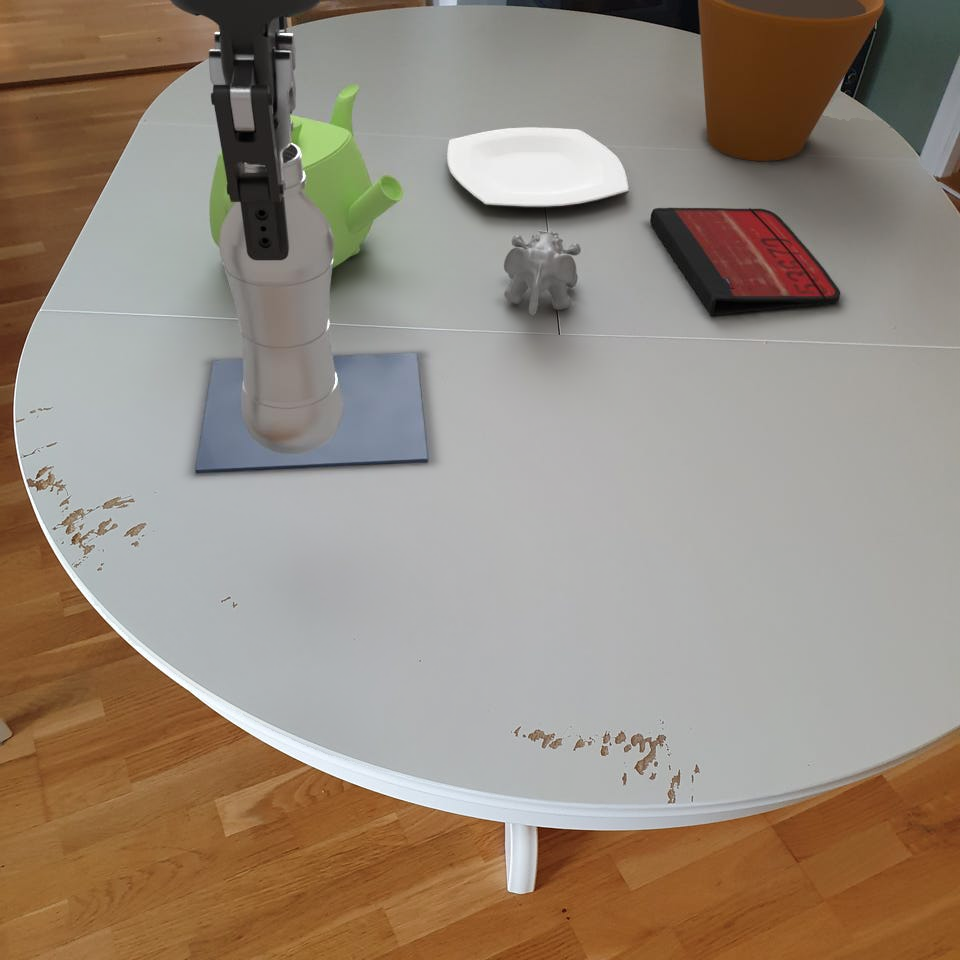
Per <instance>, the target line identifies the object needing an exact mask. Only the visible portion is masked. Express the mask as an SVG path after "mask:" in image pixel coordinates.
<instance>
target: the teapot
mask: <svg viewBox="0 0 960 960" xmlns="http://www.w3.org/2000/svg"><path fill="white" fill-rule="evenodd" d="M359 91H360V86H359V84H357V83H352V84H349V85H347V86H346V87H344V89H342V90H341V91H340V92H339V94H338V96H337V97H336V100H335V103H334V106H333V109H332V113H331V118H330V122H329V123H327V122H324V121H320V120H319V121H318V120H315V119H311V118H306V117H301V116H297V115H293V114H290V117H291V122H293V126H294V131H292V136H291V137H292V141H291V143H293V144H295V145H296V146H298V147H299V149H300V152H301V155H302V165H303V171H304V172H305V176H306V185H305V187H304V189H302V191H303V192H304V193H305V194H306V195H307V196H308V197H309V198H310V200H311V201H312V202H313V203H314V204H315V205H316V206H317V207H318V209H319V210H320V211H321V213H322V214H323V215H324V216H325V218H326V219H327V220H328V223H329V225H330V228H331V231H332V233H333V236H334V257H333V265H332V269H334V268H336V267H337V266H338V265H340V264H342V263H343V262H345V261H346V260H347V259H349V258H350V257H353V256H356V255H358V254H359V253H360V251H361V248H360V246H361V245H362V244H363V242H364V241H365V239H366V237H367V236H368V234H369V232H370V230H371V228H372V225H373V223H374V221H375V220H376V219H378V218H379V217H381V215H383V214H384V213H385V212H386V211H388V210H389V209H390V208H392V207H394V205H396V204H397V203H399V201H400V200H401V199H402V198H403V197H404V189H403V187H402V185H401V183H400V181H398V180H397V179H396V177H394V176H392V175H390V174H383V175H382V176H381V177H379V179H378V180H376V181H375V182H374V183H373V184H372V179H371V176H370V173H369V170H368V168H367V165H366V162H365V160H364V158H363V155H362V153H361V151H360V149H359V146H358V144H357V142H356V139H355V137H354V129H353V107H354V103H355V100H356V97H357V95H358V92H359ZM213 173H214V174H213V179H212V182H211V188H210V196H209V227H210V233H211V238H212V240H213V242H214V243H215V245H216V246H217V248H219V244H218V242H219V237H220V231H221V227H222V224H223V222H224V220H225V218H226V216H227V214H228V212H229V210H230V208H231V207H232V205H233V204H234V202H231V200H230V196H229V195H228V194H227V178H226V172H225V166H224V161H223V155H222V149H221V148H220V150H219V153H218V157H217V160H216V164H215V169H214V172H213Z"/></svg>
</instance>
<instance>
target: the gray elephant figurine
mask: <svg viewBox="0 0 960 960" xmlns="http://www.w3.org/2000/svg"><path fill="white" fill-rule="evenodd" d="M511 245H512V247H513V248H511V249H510V250H509V251H508V253H506V256H505V259H504V262H503V269H504V272H505V273H507V274H508V277H509V279H510V280H512V281H511V284H510V286H509V287H507V288H506V289H505V290H504V292H503V296H504V297H505V299H506V300H507V301H509V302H510V303H511V304H517V305H518V304H520V303H521V302H522V301H523V297H524V294H525V292H526V291H527V290H528V289H529V290H530V291H531V292H530V298H529V303H528V304H529V305H528V312H529V314H530V315H535V314H536V313H537V310H538V306H539V297H540V293H544V292H546V291H547V290H548V292H549V294H550V296H551V299H552V300H551V306H552V309H554V310H556V311H563V310H566V309H569V308H570V307H571V305H572V298H571V297H570V296H569V294H568V290H567V288H568V289H573V288H575V286H576V285H577V283H578V277H579V276H578V273H577V264H576V261H575V259H574V258H573V257H572V256H579V254H581V250H582V249H581V247H580V244H579V243H578V242H573V243H572V244H571V245H570V246H569V247H568V248H567V249H565V248H564V246H563V239H562V238H560V236H559V233H558V232H553V231H547V230H542V229H540V230H538V232H537V233H536V234H532V236H531V239H530V241H529V242H528V243H526V242H525V241H524V239H523V237H522V236H521V234H515V235H514V236H513V237H512V239H511Z"/></svg>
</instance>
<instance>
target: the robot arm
mask: <svg viewBox="0 0 960 960" xmlns="http://www.w3.org/2000/svg"><path fill="white" fill-rule="evenodd" d="M169 1H170V2H171V3H172V4H173V5H174V6H175V7H176V8H178V9H179V10H181V11H183V12H185V13H188V14H189V15H192V16H196V17H199V16H202V17H205V18H207V19H209V20H211V21H212V22H214V23H215V24H216V25H218V30H219V31H214V34H213V35H214V37H213V38H214V39H213V40H214V48H209V49H208V67H209V79H210V81H211V84H212V85H213V86H212V92H211V93H210V101H211V105H212V106H213V108H214V113H215V114H214V115H215V119H216V126H217V129H218V130H217V131H218V137H219V143H220V150H221V149H222V155H223V161H224V166H225V172H226V178H227V194H228V195H229V196H230V200H231V202H240V204H241V211H242V219H243V226H244V233H245V241H246V248H247V254H248V256H249V257H250V258H251V259H253V260H284V259H286V258H287V256H288V252H289V241H288V231H287V220H286V210H285V200H284V195H285V190H287V182H286V180H284V170H283V151H284V150H285V149H286V148H288V147H289V146H290V144H291V141H292V137H291V136H292V131H294V126H293V122H291V117H290V115H293V111H294V110H296V107H297V106H296V104H297V103H296V101H297V96H296V95H297V89H296V88H297V87H296V81H295V79H296V78H295V72H294V71H295V70H296V41H295V33H294V32H293V33H292V32H287V21H286V20H287V19H288V18H294V17H297V16H301V15H303V14H305V13H307V12H310V11H311V10H313V9H314V8H316V7H317V6H318V5H319V4H320V3H321V2H322V0H169ZM286 18H287V19H286ZM244 162H260V163H263V164H264V165H265V166H266V168H267V173H245V163H244Z"/></svg>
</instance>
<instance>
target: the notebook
mask: <svg viewBox="0 0 960 960" xmlns="http://www.w3.org/2000/svg"><path fill="white" fill-rule="evenodd" d="M649 221H650V225H651V226H652V227H653V229H654V231H655V232H656V234H657V235H658V237H659V239H660V240H661V243H663V245H664V247H665V248H666V249H667V251H668V253H669V254H670V256H671V257H672V258H673V260H674V262H675V264H676V265H677V266H678V268H679V269H680V271H681V272H682V274H683V276H684V277H685V279H686V280H687V281H688V283H689V284H690V286H691V287H692V288H693V290H694V292H695V293H696V294H697V297H698V299H700V300H701V302H702V303H703V305H704V306H705V308H706V309H707V311H708V313H709V314H710V316H713V317H715V316H722V315H723V316H724V315H729V314H738V313H746V312H747V313H748V312H757V311H766V310H777V309H785V308H796V307H805V306H806V307H807V306H818V305H823V306H824V305H826V304H827V305H828V304H834V303H837V302H838V301H839V300H840V297H841V291H840V289H839V287H838V286H837V285H836V283H835V282H834V281H833V279H832V277H830V274H829V273H828V272H827V271H826V270H825V268H824V267H823V266H822V263H820V262H819V261H818V260H817V258H816V256H814V255H813V254H812V252H811V251H810V250H809V248H808V247H806V245H805V244H804V243H803V242H802V241H801V239H800V238H799V237H798V236H797V235H796V233H795V232H794V231H793V230H792V229H791V228H790V227H789V226H788V225H787V223H786V222H785V221H784V220H783V219H782V218H781V217H780V216H779V215H777V214H776V213H775V212H773V211H771V210H769V209H765V208H751V207H749V208H731V207H727V208H725V207H658V208H657V207H656V208H653V209H652V211H651V213H650V220H649Z"/></svg>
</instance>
